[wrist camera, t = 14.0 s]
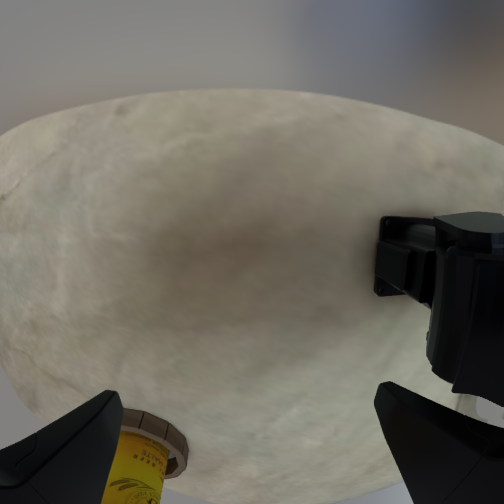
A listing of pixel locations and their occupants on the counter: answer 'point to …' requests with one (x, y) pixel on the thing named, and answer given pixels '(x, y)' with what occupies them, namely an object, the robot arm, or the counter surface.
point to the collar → (159, 437)
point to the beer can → (136, 471)
